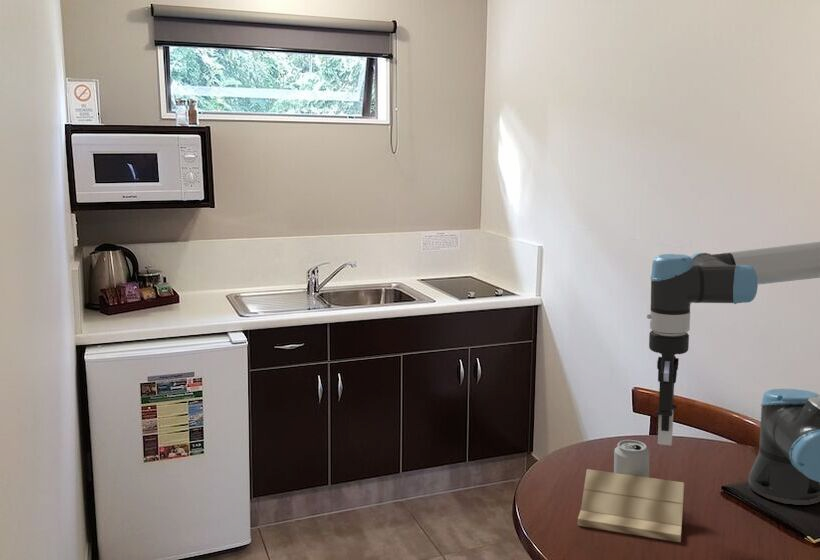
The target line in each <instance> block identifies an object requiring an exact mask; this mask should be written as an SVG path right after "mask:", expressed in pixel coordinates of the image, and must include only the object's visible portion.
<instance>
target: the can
mask: <svg viewBox="0 0 820 560" xmlns="http://www.w3.org/2000/svg"><path fill="white" fill-rule="evenodd" d="M647 446H648V445H646V443H644V442H642V441H639V440H636V439H635V440H633V439H624V440H623V439H622V440H620V441H619V442H617V446H616V447H615V448H614V449H613V450H614V452H613V454H614V455H613V457H614V458H613V473H619V474H626V475H633V476H641V477H648V478H650V454H651V453H650V451H649V449H647V448H648V447H647Z"/></svg>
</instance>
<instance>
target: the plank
mask: <svg viewBox="0 0 820 560" xmlns="http://www.w3.org/2000/svg"><path fill="white" fill-rule="evenodd" d="M684 491H685V482H682V481H677V480H670V479H669V480H667V479H661V478H655V477H654V478H653V477H649V478H648V477H641V476H633V475H626V474H619V473H614V472H610V471H603V470H595V469H588V468H587V469H586V472H585V479H584V485H583V493H582V500H581V506H580V511H581V510H587V511H593V512H600V513H606V514H612V515H619V516H625V517H631V518H638V519H644V520H650V521H656V522H663V523H669V524H675V525H682V526H683V508H684V507H683V506H684Z"/></svg>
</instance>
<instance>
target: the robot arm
mask: <svg viewBox="0 0 820 560" xmlns="http://www.w3.org/2000/svg"><path fill="white" fill-rule="evenodd" d="M811 279H820V241H814V242H808V243H807V242H806V243H799V244H797V243H796V244H790V245H789V244H788V245H780V246H774V247H772V246H771V247H765V248H755V249H748V250H741V251H739V250H738V251H731V252H724V253H716V254H715V253H714V254H713V253H712V254H711V253H708V252H698V253H694V254H692V255H690V256H689V255H687V254H679V253H678V254H675V253H667V254H666V253H665V254H664V253H663V254H659V255H656V256H655V257H654V258H653V259H652V266H651V276H650V313H647V315H646V319H648V320H650V321H649V329H650V332H649V334H648V335H649V338H648V340H649V341H648V348H649V349H650V350H651V352H654V353H658V354H660V355H661V356H658V358H657V363H656V367H657V370H658V371H657V381H658V383H659V390H658V391H659V393H658V394H659V395H658V396H659V397H658V398H659V399H658V410H655V412H654V414H655V415H656V416H658V420H657V422H658V423H657V424H658V425H657V427H658V428H657V445H663V446H672V445H673V443H672V442H673V432H674V431H673V429H674V410H677V408H678V405H677V404H674V402H675V399H674V396H675V395H674V393H675V384H676V382H677V377H678V373H677V372H678V370H679V360H680V359H679V357H676V355H683V354H685V353H687V352H688V351H689V347H690V346H689V343H690V342H689V340H690V335H689V333H688V332H690V328H691V327H690V325H691V304H734V305H736V304H745V303H746V304H747V303H751V302H752V301H754V300H755V298H756V295H757V293H758V285H766V284H774V283H776V284H777V283H784V282H794V281H802V280H811ZM760 407H761V408H760V409H761V410H760V427H759V429H760V430H759V444H758V445H759V449H758V454H757V457H756V458H755V461H754V463H753V465H752V467H751V469H750V472H749V474H748V482H749V484H750V485H751V486H752V487H753V488H755V489H756V490H758V491H760V492H762V493H765V494H768V495H771V496H775V497H778V498H784V499H790V500H810V499H814V498H817V497H818V496H820V394H818V393H817V392H814V391H810V390H803V389H796V388H795V389H794V388H774V389H769V390H766V391H765V392H764V393H763V395H762V400H761V404H760Z"/></svg>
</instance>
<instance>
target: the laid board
mask: <svg viewBox="0 0 820 560" xmlns="http://www.w3.org/2000/svg"><path fill="white" fill-rule="evenodd" d="M577 526H578V527H585V528H591V529H596V530H604V531H610V532H616V533H620V534H621V533H622V534H627V535H634V536H640V537H645V538H652V539H659V540H662V541H663V540H664V541H670V542H676V543H681V542H682V528H683V527H682V526H683V524H682V525H675V524H669V523H663V522H656V521H650V520H644V519H638V518H631V517H625V516H619V515H612V514H606V513H600V512H593V511H587V510H581V509H580V511H579V514H578V517H577Z"/></svg>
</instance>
